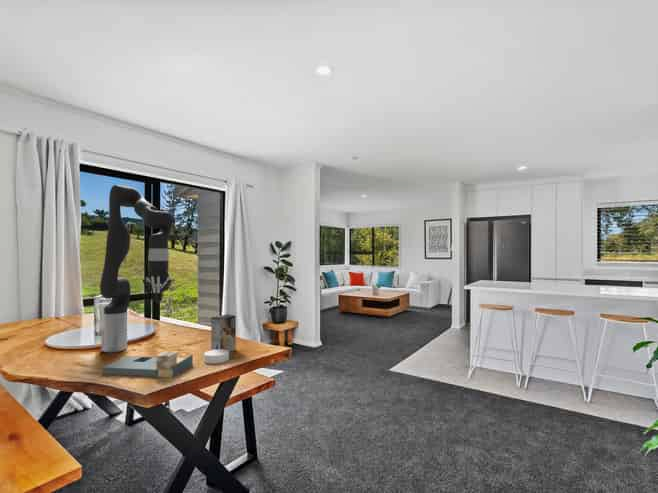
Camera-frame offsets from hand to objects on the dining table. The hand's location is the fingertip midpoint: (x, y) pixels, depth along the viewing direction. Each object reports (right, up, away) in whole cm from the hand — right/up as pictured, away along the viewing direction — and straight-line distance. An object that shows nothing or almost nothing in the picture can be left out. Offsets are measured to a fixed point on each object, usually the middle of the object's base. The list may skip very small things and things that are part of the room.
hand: (158, 302), depth 142 cm
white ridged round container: (+22, -26, +5) cm, 34 cm away
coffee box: (+22, -26, +17) cm, 37 cm away
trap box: (0, -25, -7) cm, 26 cm away
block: (+9, -23, -12) cm, 27 cm away
